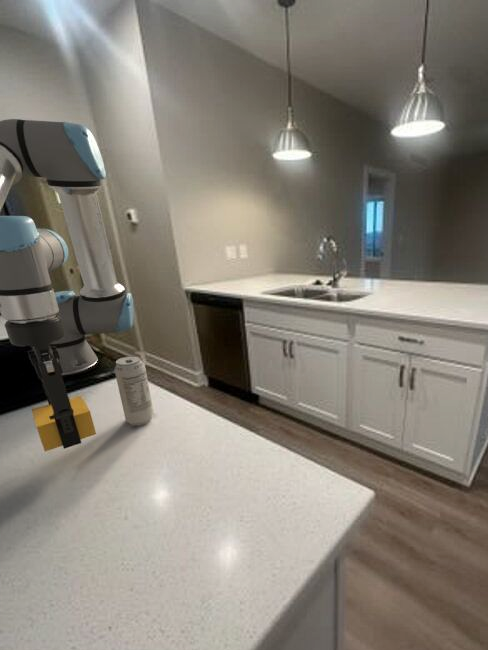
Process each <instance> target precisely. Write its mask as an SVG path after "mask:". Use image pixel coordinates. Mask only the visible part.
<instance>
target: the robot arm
mask: <svg viewBox="0 0 488 650" xmlns="http://www.w3.org/2000/svg"><path fill="white" fill-rule="evenodd" d="M106 175H107V173H106V169H105V163H104V159H103V157H102V153H101V151H100V148H99V146H98V144H97V141H96V138H95V137H94V135H93V133H92V132H91V130H90V129H89V128H88V127H87V126H85V125H84V124H81V123H74V122H68V121H51V120H33V119H20V118H8V119H3V120H0V213H1V212H2V209H3V207H4V205H5V202H6V200H7V197H8V194H9V192H10V190H11V187H12V186H14V185H17V184H18V183H19V182H20V181H21V179H22V178H44V179H46V182H47V185H48V187H49V188H50V189H51V190H53V191H54V192H55V193H56V194H57V195H58V198H59V202H60V206H61V209H62V212H63V216H64V220H65V223H66V228H67V231H68V234H69V237H70V240H71V244H72V248H73V251H74V256H75V258H76V262H77V265H78V269H79V273H80V276H81V279H82V283H83V287H81V289H80V290H79V294H80V295H76V293H75V291H74V290H62V291H55V290H54V287H53V285H52V281H51V277H50V274H49V273H50V272H54V271H56V270H58V269H60V268H61V267H63V265H64V264H65V263H66V262H67V261H68V258H69V247H68V245H67V243H66V241H65V239H63V237H62V236H61V235H59V234H58V233H57V232H55V231H53V230H51V229H47V228H45V227H41V226H40V227H37V226H36V224H35V222H34V220H33V219H32V218H31V217H29V216H27V215H0V315H1V317H2V319H3V320H5V321H6V322H5V323H4V328H5V331H6V334H7V337H8V340H9V342H10V343H11V345H13V346H16V347H25V348H26V347H30V348H31V350H27V354H28V357H29V360H30V363H31V364H32V366H33V367H34V370H35V371H36V375H37V378H38V379H39V380H41V383H42V388H43V389H44V394H45V395H46V396H47V397H46V401H47V403H48V404H51V406H52V409H53V412H54V414H53V415H52V416H49V417H50V420H51V419H55V422H56V425H57V429H58V432H59V435H60V438H61V441H62V444H63V446H62V447H63V449H64V450H65V449H68V448H71V447H74V446H77V445H80V444H82V439H80V436H79V433H78V429H77V426H76V422H75V419H74V416H73V412H74V411H73V409H72V408H71V404H70V401H69V399H70V397H69V395H68V391H67V388H66V385H65V382H64V378H69V377H75V376H79V375H82V374H86V373H88V372H90V371H92V370H93V369H95V368H97V367H98V365H99V359H98V356H97V354H96V353H95V352H94V350H93V349H92V347H91V346H90V344H89V343H88V341H87V339H86V336H87V335H88V336H89V335H100V334H101V335H102V334H113V333H115V334H118V333H123V332H128V331H130V330H131V329H132V327H133V325H134V299H133V298H134V297H133V295H132V293H130V292H126V290H125V286H123V284H121V283H119V282H118V280H117V276H116V270H115V267H114V263H113V258H112V254H111V250H110V249H111V248H110V245H109V241H108V237H107V232H106V228H105V224H104V220H103V215H102V210H101V206H100V203H99V198H98V192H99V191H100V190H101V188H102V187H103V186H102V182H101V181H103V180H105V179H106V177H107V176H106ZM97 361H98V362H97ZM96 363H97V364H96ZM95 364H96V365H95ZM92 366H93V367H92ZM90 367H91V368H90ZM88 368H89V369H88ZM48 404H47V405H48Z"/></svg>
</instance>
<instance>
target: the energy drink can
mask: <svg viewBox="0 0 488 650" xmlns="http://www.w3.org/2000/svg"><path fill="white" fill-rule="evenodd" d="M115 364H116V365H115V367H114V374H115V375H114V376H115V379H116V383H117V388H118V393H119V396H120V401H121V406H122V409H123V415H124V419H125V421H126V422H127V423H129V425H131V426H143V425H146V424H148V423H149V422H151V420H152V419H153V417H154V415H155V412H154V408H153V402H152V396H151V390H150V386H149V385H150V384H149V379H148V375H147V369H146V365H145V363H144V362H143V361H142V360H141V357H140V356H138V355H137V356H136V355H129V356H128V355H127V356H124V357H121V358H118V359H117V360H116V361H115Z"/></svg>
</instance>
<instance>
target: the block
mask: <svg viewBox="0 0 488 650" xmlns="http://www.w3.org/2000/svg"><path fill="white" fill-rule="evenodd" d="M69 401H70V404H71V408H72V409H73V411H74V412H73V416H74V419H75V422H76V426H77V429H78V433H79V436H80V440H84V439H86V438H88V437H91V436H95V435H97V432H96V428H95V424H94V421H93V417H92V413H91V411H90V409H89V407H88V405H87V404H86V401H85V400H84V398H83V397H82V395H77V396H74V397H71V398H70V397H69ZM31 413H32V416H33V420H34V424H35V427H36V430H37V433H38V436H39V439H40V441H41V445H42V447H43V451H44V452H48V451H51V450H54V449H57V448H60V447H63V444H62V441H61V438H60V435H59V432H58V429H57V425H56V422H55V419H51V420H50V417H49V416H52V415H53V414H54V412H53V409H52V406H51V404H44V405H42V406H37V407H34V408H31Z"/></svg>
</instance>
